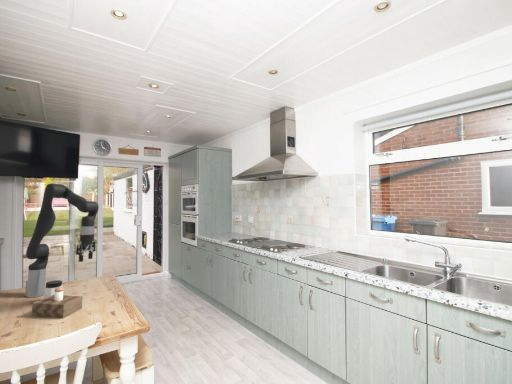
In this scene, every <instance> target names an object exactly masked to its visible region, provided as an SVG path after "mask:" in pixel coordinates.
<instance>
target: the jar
mask: <svg viewBox="0 0 512 384" xmlns="http://www.w3.org/2000/svg"><path fill="white" fill-rule="evenodd" d="M58 287H63V281H62V280H60V279H59V280H57V279H56V280H50V281H47V282H45V292H44V296H43V299H44V298H47V297H49V296H52V295H55V288H58Z"/></svg>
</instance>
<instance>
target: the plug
mask: <svg viewBox="0 0 512 384" xmlns="http://www.w3.org/2000/svg"><path fill="white" fill-rule="evenodd" d="M63 295H64V287H63V286H62V287H58V288H55V295H54V301H61V300H63Z"/></svg>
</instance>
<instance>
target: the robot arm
mask: <svg viewBox="0 0 512 384" xmlns="http://www.w3.org/2000/svg"><path fill="white" fill-rule="evenodd" d="M54 199H65V200H67V202H68V203H69V204H70V205H72V206H73V207H75V208H76V209H77V210H78V211H79V212H81V213H84V214H85V213H87V215H85V216H82V217H81V220H80V221H81V222H80V223H81V225H80V231H79V233H80V234H79V242H81V243H80V244H77V245H76V252H75V255H77V256H78V262H79V263H80V262H84V255H85V253H86V252H88V258H87V259H88V260H92V259H93V256H94V255H93V254H94V252H95V251H96V244H97V243H96V241H95V231H96V230H95V223H96V222H95V220H96V218H97V216H98V215H97V214H98V212H99V209H100V207H99V204H98V202H96V201H94V200H93V201H92V200H91V201H89V200H88V201H87V199H86V198H84V197H83V196H81V195H78V194H77V193H75V192H73V191H72V190H71V189H69V187H67V185H64V184H59V183H48V184H47V185H46V186H45V189H44V193H43V196H42V203H41V207H40V210H39V214H38V217H37V219H36V223H35V228H34V229H33V232H32V236H31V239H30V240H29V243H28V245H27V248H26V252H25V255H26V258H27V259H28V260H34V262H31V264H29V265H28V267H27V268H28V270H27V271H28V273H27V280H26V282H25V290H24V291H25V292H24V297H26V298H36V297H41V296H43V295H44V294H45V288H46V279H47V277H46V275H47V265H48V262H49V255H50V247H49V245H48V244H47V243H42V240H44V238H45V236H46V235H47V234H49V232H51V231H52V229H53V228H54V225H55V222H56V214H55V211H54V208H53V206H52V205H53V200H54Z"/></svg>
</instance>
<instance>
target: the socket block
mask: <svg viewBox="0 0 512 384" xmlns="http://www.w3.org/2000/svg"><path fill="white" fill-rule="evenodd" d="M83 298H84V297H83V296H81V295H65V294H63V300H61V301H54V295H52V296H49V297H47V298H44V297H43V298H42V299H39V300H37V301H34V302H32V305H31V317H32V318H33V317H34V318H35V317H36V318H38V317H39V318H48V319H49V318H50V319H52V318H53V319H64V318H66V317H69V316H71V315H72V314H74V313H77V312H78V311H80V310H82V308H83Z"/></svg>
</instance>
